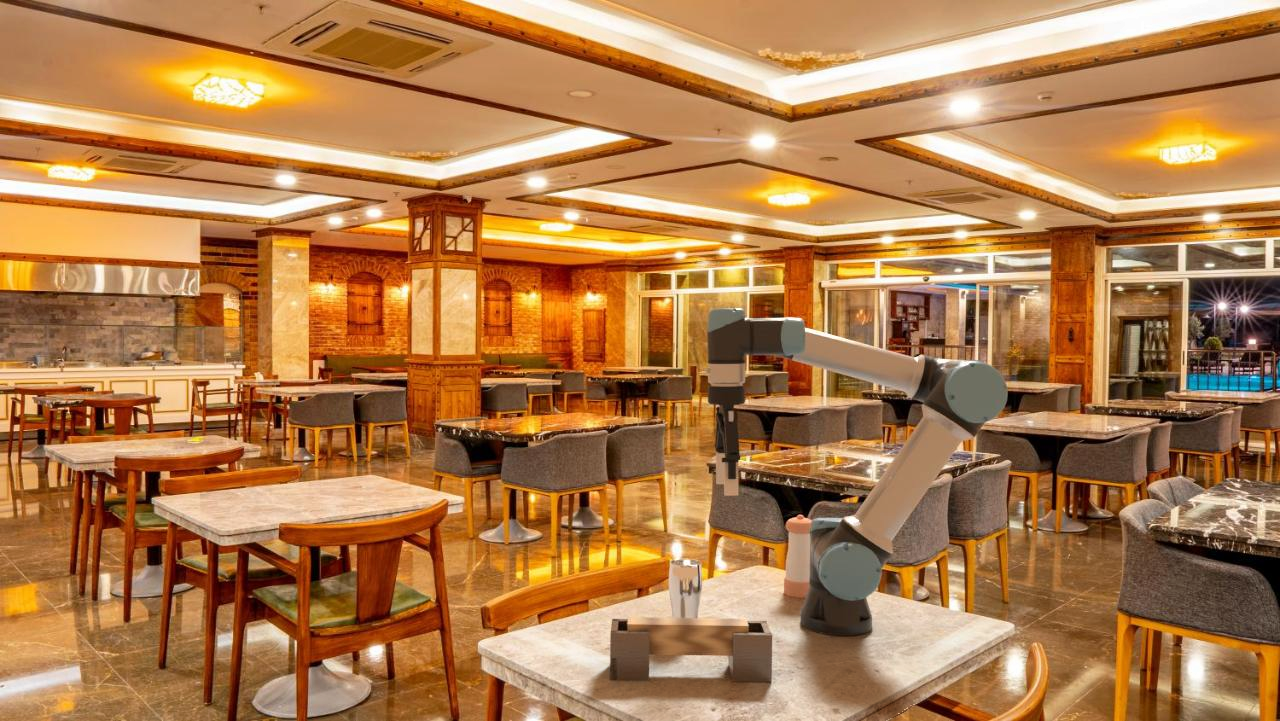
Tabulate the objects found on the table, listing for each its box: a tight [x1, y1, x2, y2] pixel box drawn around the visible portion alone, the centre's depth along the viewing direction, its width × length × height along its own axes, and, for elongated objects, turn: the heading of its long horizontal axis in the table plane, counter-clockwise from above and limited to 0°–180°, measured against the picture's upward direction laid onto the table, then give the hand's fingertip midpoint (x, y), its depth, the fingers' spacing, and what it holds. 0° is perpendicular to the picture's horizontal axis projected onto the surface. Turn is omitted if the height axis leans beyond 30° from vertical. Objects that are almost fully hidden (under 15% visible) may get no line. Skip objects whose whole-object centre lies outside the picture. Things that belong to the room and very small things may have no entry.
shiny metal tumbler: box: [668, 557, 703, 618], centre depth 182 cm, size 7×7×15 cm
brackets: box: [609, 618, 773, 683], centre depth 161 cm, size 29×8×8 cm, turn 89°
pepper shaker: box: [783, 514, 813, 599], centre depth 212 cm, size 7×7×19 cm
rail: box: [627, 616, 749, 657], centre depth 161 cm, size 22×4×6 cm, turn 90°
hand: (726, 489), depth 177 cm, fingers open, 13 cm apart
